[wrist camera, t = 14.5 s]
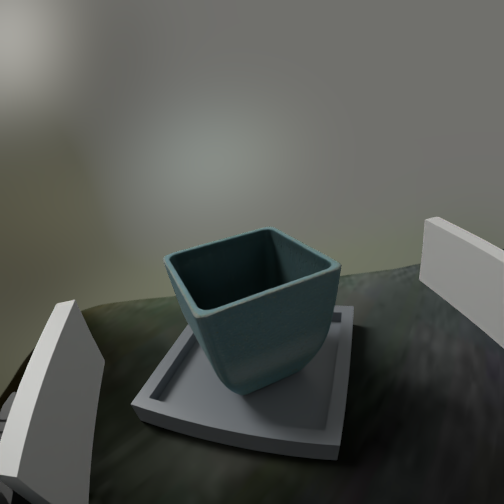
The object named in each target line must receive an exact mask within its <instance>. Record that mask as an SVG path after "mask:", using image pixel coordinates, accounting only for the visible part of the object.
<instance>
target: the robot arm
mask: <svg viewBox="0 0 504 504" xmlns="http://www.w3.org/2000/svg"><path fill="white" fill-rule="evenodd" d="M419 280H420V281H421V282H423V283H424V284H425V285H427V286H428V287H429V288H431V289H432V290H433V291H435V292H436V293H437V294H438V295H440V296H441V297H442V298H444V299H445V300H446V301H447V302H449V303H450V304H451V305H452V306H454V307H455V308H456V309H457V310H459V311H460V312H461V313H462V314H464V315H465V316H466V317H467V318H468V319H470V320H471V321H472V322H473V323H475V324H476V325H477V326H478V327H479V328H481V329H482V330H483V331H484V332H485V333H486V334H488V335H489V336H490V337H491V338H492V339H494V340H495V341H496V342H497V343H498V344H499V345H500V346H502V347H503V348H504V251H503V250H502V249H500V248H498V247H496V246H494V245H493V244H490V243H489V242H487V241H485V240H483V239H481V238H479V237H478V236H476V235H474V234H472V233H470V232H468V231H466V230H464V229H462V228H460V227H458V226H456V225H454V224H452V223H450V222H448V221H446V220H444V219H442V218H440V217H434V218H430V219H425V225H424V238H423V249H422V259H421V267H420V276H419ZM104 364H105V360H104V358H103V357H102V355H101V353H100V351H99V349H98V347H97V345H96V343H95V341H94V339H93V337H92V335H91V333H90V331H89V329H88V327H87V325H86V322H85V320H84V318H83V316H82V314H81V312H80V309H79V307H78V305H77V302H76V300H72V301H67V302H62V303H57V304H56V306H55V308H54V310H53V312H52V314H51V316H50V318H49V320H48V322H47V324H46V326H45V328H44V330H43V332H42V334H41V337H40V339H39V341H38V343H37V345H36V347H35V350H34V352H33V354H32V356H31V359H30V361H29V363H28V366H27V368H26V371H25V373H24V375H23V378H22V380H21V383H20V385H19V388H18V391H17V392H13V393H12V394H11V395H10V397H9V398H8V399H7V401H6V402H5V403H4V405H3V407H2V409H1V412H0V504H88V500H89V481H90V467H91V455H92V445H93V436H94V427H95V420H96V412H97V405H98V399H99V392H100V386H101V380H102V374H103V369H104Z"/></svg>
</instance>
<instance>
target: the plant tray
mask: <svg viewBox="0 0 504 504" xmlns="http://www.w3.org/2000/svg"><path fill="white" fill-rule="evenodd" d="M353 311H354V306H335V307H334V312H333V317H332V321H331V325H330V329H329V332H328V335H327V337H326V339H325V341H324V343H323V345H322V347H321V348H320V350H319V351H318V353H317V354H316V355H315V357H314V358H313V359H312V360H311V361H310V362H309V363H308V364H307V365H306V366H305V367H304V368H303V369H302V370H300V371H299V372H297V373H295V374H293V375H290V376H288V377H286V378H284V379H281V380H279V381H277V382H274V383H272V384H270V385H268V386H265V387H263V388H261V389H259V390H256V391H254V392H252V393H249V394H246V395H239V394H237V393H234V392H232V391H231V390H229V389H228V388H227V387H226V386H225V385H224V384H223V383H222V382H221V381H220V379H219V378H218V376H217V375H216V373H215V371H214V369H213V367H212V366H211V364H210V362H209V360H208V359H207V357H206V355H205V353H204V351H203V350H202V348H201V346H200V344H199V342H198V340H197V339H196V337H195V335H194V333H193V331H192V329H191V327H190V326H189V324H188V325H187V327H186V328H185V329H184V331H183V332H182V333H181V335H180V336H179V338H178V339H177V340H176V342H175V343H174V345H173V346H172V347H171V349H170V350H169V351H168V353H167V354H166V356H165V357H164V358H163V360H162V361H161V363H160V364H159V365H158V367H157V368H156V370H155V371H154V372H153V374H152V375H151V377H150V378H149V379H148V381H147V382H146V384H145V385H144V386H143V388H142V389H141V391H140V392H139V393H138V395H137V396H136V398H135V399H134V400H133V402H132V403H131V405H132V407H133V409H134V410H135V412H136V414H137V415H138V417H139V418H140V420H141V421H144V422H147V423H150V424H153V425H156V426H159V427H162V428H165V429H169V430H172V431H175V432H179V433H182V434H186V435H189V436H193V437H197V438H201V439H205V440H209V441H213V442H217V443H221V444H226V445H231V446H235V447H240V448H245V449H251V450H256V451H262V452H268V453H274V454H281V455H288V456H296V457H304V458H314V459H324V460H337V459H338V453H339V448H340V442H341V436H342V429H343V422H344V414H345V406H346V398H347V389H348V379H349V368H350V357H351V344H352V329H353Z"/></svg>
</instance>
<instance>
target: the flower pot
mask: <svg viewBox="0 0 504 504" xmlns="http://www.w3.org/2000/svg"><path fill="white" fill-rule="evenodd" d="M163 261H164V264H165V266H166V269H167V272H168V275H169V278H170V280H171V283H172V286H173V288H174V291H175V294H176V297H177V299H178V302H179V304H180V307H181V309H182V312H183V314H184V316H185V318H186V320H187V322H188V324H189V326H190V327H191V329H192V331H193V333H194V335H195V337H196V339H197V340H198V342H199V344H200V346H201V348H202V350H203V351H204V353H205V355H206V357H207V359H208V360H209V362H210V364H211V366H212V367H213V369H214V371H215V373H216V375H217V376H218V378H219V379H220V381H221V382H222V383H223V384H224V385H225V386H226V387H227V388H228V389H229V390H231V391H232V392H234V393H237V394H239V395H246V394H249V393H252V392H254V391H256V390H259V389H261V388H263V387H265V386H268V385H270V384H272V383H274V382H277V381H279V380H281V379H284V378H286V377H288V376H290V375H293V374H295V373H297V372H299V371H300V370H302V369H303V368H304V367H305V366H306V365H307V364H308V363H309V362H310V361H311V360H312V359H313V358H314V357H315V355H316V354H317V353H318V351H319V350H320V348H321V347H322V345H323V343H324V341H325V339H326V337H327V335H328V332H329V329H330V325H331V321H332V317H333V312H334V307H335V302H336V296H337V290H338V284H339V278H340V271H341V264H340V263H338V262H337V261H335V260H334V259H332V258H330V257H328V256H326V255H325V254H323V253H321V252H319V251H317V250H315V249H313V248H312V247H310V246H308V245H306V244H304V243H303V242H300V241H298V240H296V239H294V238H292V237H291V236H289V235H287V234H286V233H284V232H282V231H280V230H279V229H277V228H274V227H270V226H269V227H264V228H259V229H256V230H252V231H249V232H245V233H242V234H238V235H235V236H231V237H228V238H224V239H220V240H217V241H213V242H209V243H206V244H202V245H198V246H195V247H192V248H189V249H185V250H181V251H178V252H175V253H171V254H169V255H166V256H165V257H164V258H163Z"/></svg>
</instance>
